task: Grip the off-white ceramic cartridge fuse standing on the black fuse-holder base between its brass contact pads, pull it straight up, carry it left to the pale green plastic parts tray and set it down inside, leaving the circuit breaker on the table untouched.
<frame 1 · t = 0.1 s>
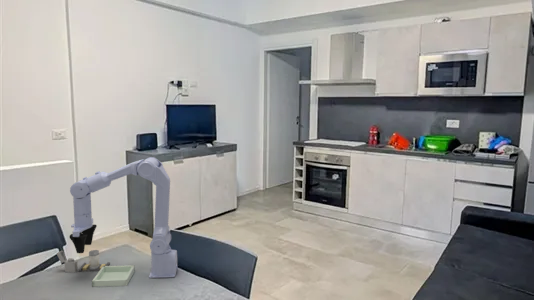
hand: (84, 248, 136), 10 cm above the table, tool pointing down, fingers open, 7 cm apart
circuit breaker: (67, 272, 139), on the table
tray: (114, 279, 134), on the table
fuse: (94, 267, 142), resting on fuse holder
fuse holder: (94, 268, 142), on the table
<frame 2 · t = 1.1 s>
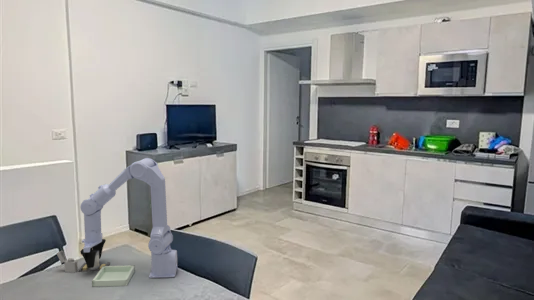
hand: (94, 262, 141), 2 cm above the table, tool pointing down, fingers open, 7 cm apart
nothing on the table moved.
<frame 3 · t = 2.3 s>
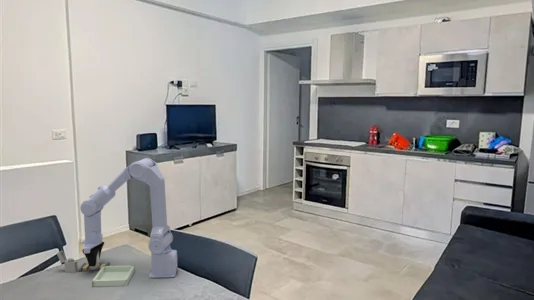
hand: (94, 263, 142), 2 cm above the table, tool pointing down, fingers closed on fuse, 3 cm apart
fuse: (94, 267, 142), resting on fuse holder, touching gripper
everything else where it was.
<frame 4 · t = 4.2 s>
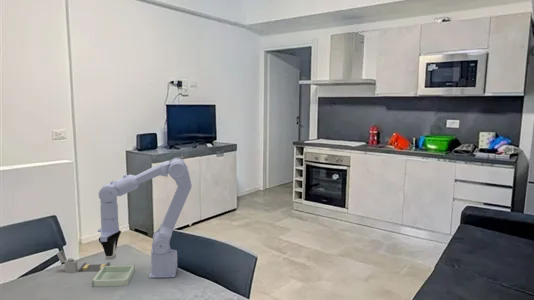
hand: (110, 253, 134), 9 cm above the table, tool pointing down, fingers closed on fuse, 3 cm apart
fuse: (110, 257, 134), point 8 cm above the table, touching gripper
everything else where it was.
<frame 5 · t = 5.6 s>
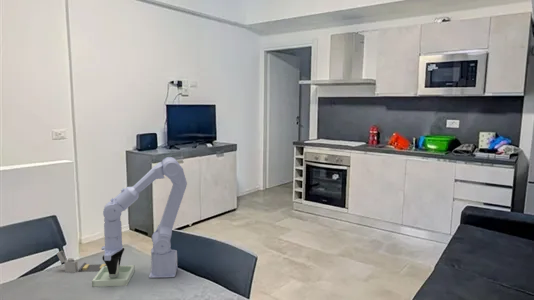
hand: (114, 271, 134), 3 cm above the table, tool pointing down, fingers closed on fuse, 3 cm apart
fuse: (114, 275, 134), point 1 cm above the table, touching gripper
everything else where it was.
when the fingers open (3 cm above the table, at t = 6.4 s): fuse stays where it is, resting on tray.
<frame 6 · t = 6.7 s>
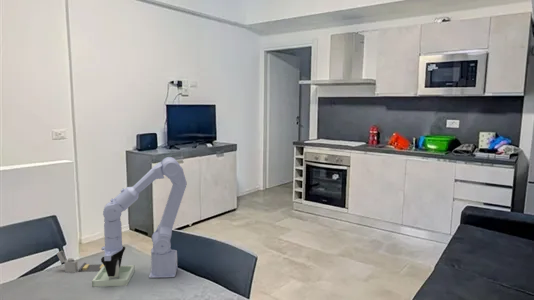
hand: (114, 271, 134), 3 cm above the table, tool pointing down, fingers open, 6 cm apart
fuse: (114, 278, 134), point 1 cm above the table, touching tray
everything else where it was.
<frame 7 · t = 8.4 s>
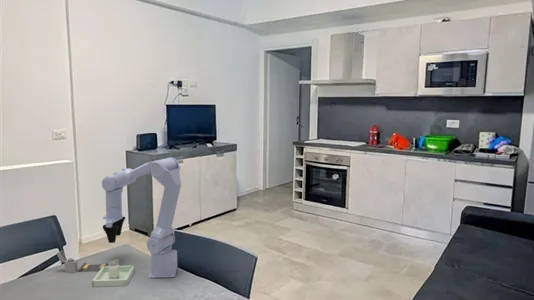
hand: (114, 238, 146), 10 cm above the table, tool pointing down, fingers open, 7 cm apart
nothing on the table moved.
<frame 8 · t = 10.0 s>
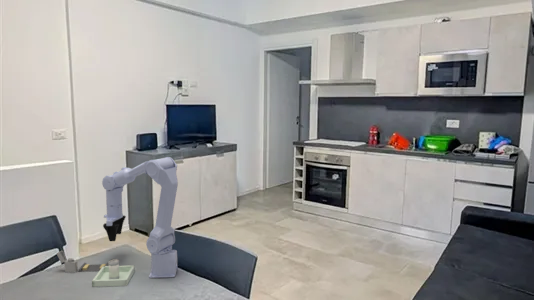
hand: (115, 237, 148), 10 cm above the table, tool pointing down, fingers open, 7 cm apart
nothing on the table moved.
at the end: fuse inside the target area on the tray (0.1 cm from its centre), point 0.5 cm above the tray's base; the gripper is holding nothing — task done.
